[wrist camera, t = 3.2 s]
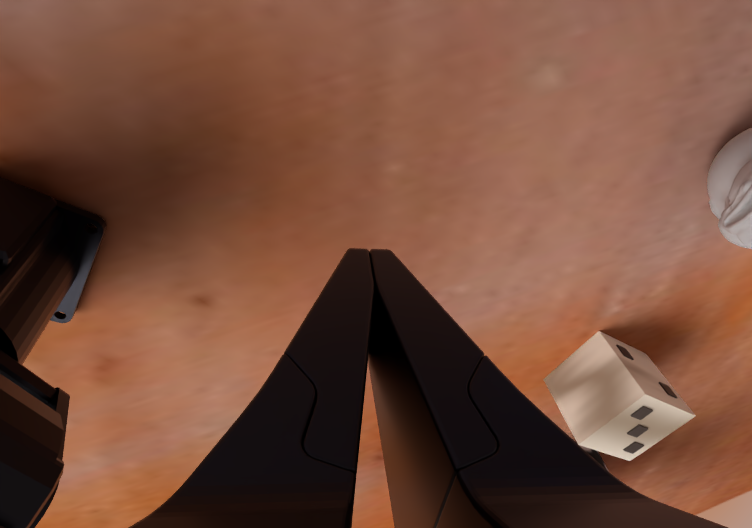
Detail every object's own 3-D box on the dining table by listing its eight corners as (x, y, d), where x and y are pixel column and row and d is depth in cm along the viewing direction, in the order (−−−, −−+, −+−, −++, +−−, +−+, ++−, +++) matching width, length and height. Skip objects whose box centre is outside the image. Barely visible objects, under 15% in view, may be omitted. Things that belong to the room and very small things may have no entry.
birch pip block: (590, 397, 34) (630, 462, 29) (542, 378, 31) (579, 446, 27) (646, 352, 31) (698, 416, 27) (599, 328, 29) (647, 394, 25)
